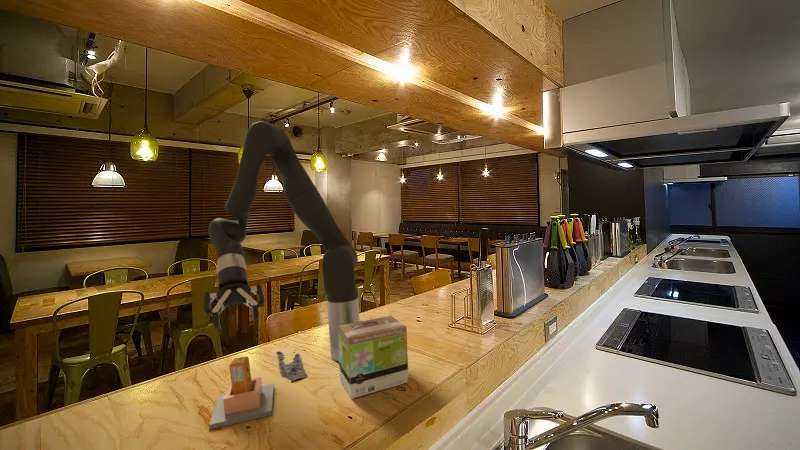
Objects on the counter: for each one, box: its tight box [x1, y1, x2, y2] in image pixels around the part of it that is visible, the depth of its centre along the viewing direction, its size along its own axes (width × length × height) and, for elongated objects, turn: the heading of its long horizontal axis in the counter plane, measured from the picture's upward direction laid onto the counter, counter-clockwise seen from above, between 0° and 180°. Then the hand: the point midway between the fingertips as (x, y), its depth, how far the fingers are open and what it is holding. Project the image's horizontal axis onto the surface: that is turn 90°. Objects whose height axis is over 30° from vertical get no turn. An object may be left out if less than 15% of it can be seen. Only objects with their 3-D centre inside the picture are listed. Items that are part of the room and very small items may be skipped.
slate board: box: [208, 383, 275, 430], centre depth 75 cm, size 12×12×1 cm
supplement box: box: [229, 356, 253, 395], centre depth 75 cm, size 3×3×10 cm
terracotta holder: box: [223, 376, 263, 415], centre depth 75 cm, size 7×7×4 cm
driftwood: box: [276, 350, 308, 383], centre depth 95 cm, size 21×7×2 cm, turn 23°
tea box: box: [338, 315, 409, 400], centre depth 83 cm, size 15×10×15 cm, turn 115°
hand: (237, 324), depth 84 cm, fingers open, 8 cm apart
